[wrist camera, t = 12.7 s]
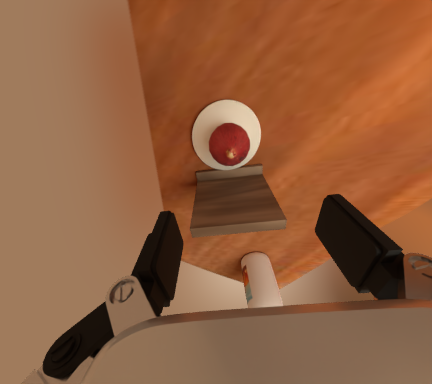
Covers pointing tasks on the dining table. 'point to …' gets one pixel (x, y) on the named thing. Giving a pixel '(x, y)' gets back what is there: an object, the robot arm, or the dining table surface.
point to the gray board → (234, 203)
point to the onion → (229, 144)
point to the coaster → (217, 116)
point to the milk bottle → (260, 281)
